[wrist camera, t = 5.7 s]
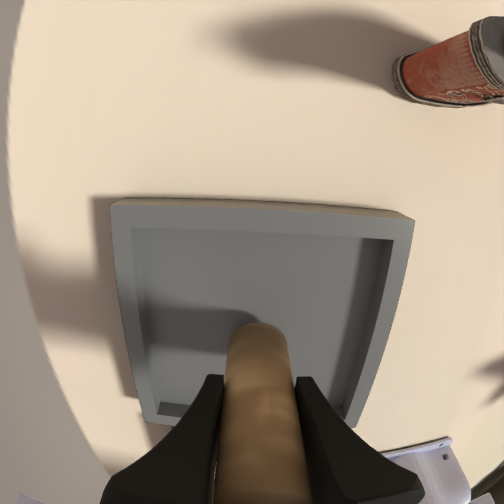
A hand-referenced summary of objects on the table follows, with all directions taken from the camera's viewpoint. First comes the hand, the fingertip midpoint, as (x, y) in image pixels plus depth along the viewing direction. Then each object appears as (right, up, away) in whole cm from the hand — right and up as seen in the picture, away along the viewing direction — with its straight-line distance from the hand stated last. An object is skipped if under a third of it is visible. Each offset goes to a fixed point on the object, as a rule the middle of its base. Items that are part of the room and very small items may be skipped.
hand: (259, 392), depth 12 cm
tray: (0, +2, +5) cm, 5 cm away
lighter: (+11, +15, +1) cm, 19 cm away
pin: (0, +1, +3) cm, 3 cm away
